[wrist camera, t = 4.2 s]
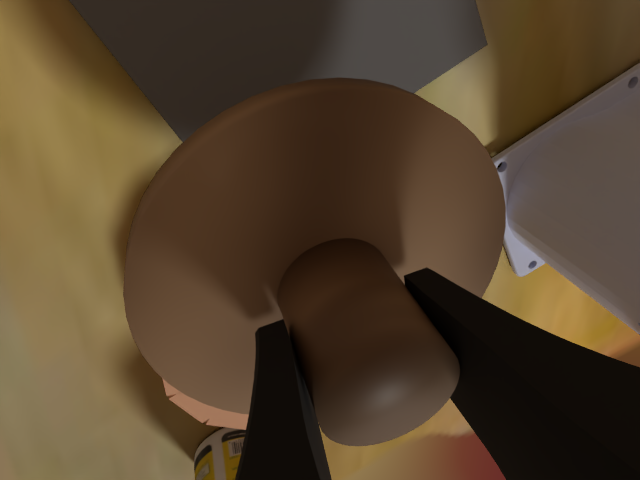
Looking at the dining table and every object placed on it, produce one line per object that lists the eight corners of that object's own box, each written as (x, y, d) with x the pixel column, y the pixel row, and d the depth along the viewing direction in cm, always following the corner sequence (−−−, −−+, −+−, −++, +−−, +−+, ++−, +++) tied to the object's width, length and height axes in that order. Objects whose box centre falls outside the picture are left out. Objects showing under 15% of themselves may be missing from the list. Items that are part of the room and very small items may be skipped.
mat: (386, -290, 12) (392, -297, 12) (481, 43, 18) (487, 44, 18) (36, -44, 13) (33, -45, 13) (235, 205, 19) (236, 209, 18)
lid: (492, 25, 10) (678, 72, 6) (478, 324, 16) (572, 435, 12) (36, 155, 9) (-46, 306, 5) (206, 429, 15) (223, 587, 11)
